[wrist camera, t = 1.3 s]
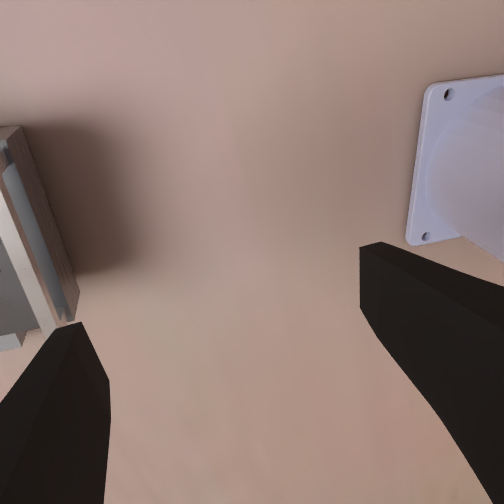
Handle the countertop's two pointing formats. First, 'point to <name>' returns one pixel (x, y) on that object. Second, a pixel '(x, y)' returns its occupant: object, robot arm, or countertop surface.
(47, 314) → the trolley
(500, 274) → the countertop surface
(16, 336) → the dock
